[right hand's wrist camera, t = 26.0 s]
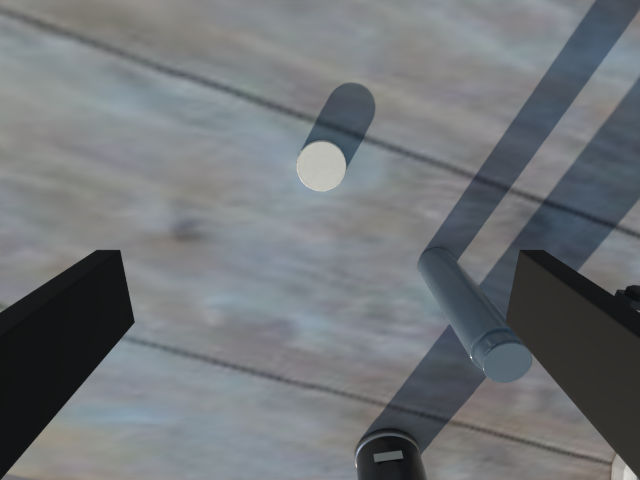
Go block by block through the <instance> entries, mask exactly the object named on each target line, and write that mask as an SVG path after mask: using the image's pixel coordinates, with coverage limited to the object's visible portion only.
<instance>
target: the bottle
mask: <svg viewBox="0 0 640 480" xmlns="http://www.w3.org/2000/svg"><path fill="white" fill-rule="evenodd" d="M418 270H419V273H420V274H421V276H422V278H423V279H424V281H425V283H426V284H427V286H428V288H429V289H430V291H431V293H432V295H433V296H434V298H435V300H436V301H437V303H438V305H439V306H440V308H441V310H442V311H443V313H444V315H445V316H446V318H447V320H448V321H449V323H450V325H451V327H452V328H453V330H454V332H455V333H456V335H457V337H458V338H459V340H460V342H461V343H462V345H463V347H464V348H465V350H466V352H467V354H468V355H469V357H470V359H471V360H472V362H473V363H474V365H476V366H477V367H478V368H480V369H482V370H483V372H484V373H485V375H486V376H487V377H488V378H489V379H491V380H493V381H495V382H499V383H507V382H512V381H515V380H517V379H519V378H521V377H522V376H524V375H525V374H526V373H527V371H528V370H529V368H530V367H531V364H532V355H531V353H530V351H529V350H528V348H527V347H526V346H525V345H524V344H523V343H522V341H521V340H520V339H519V338H518V337H517V335H516V334H515V333H514V332H513V331H512V330H511V328H510V327H509V326H508V325H507V324H506V323H505V321H506V316H505V315H504V314H503V313H502V312H501V310H500V309H499V308H498V307H497V306H496V305H495V304H494V302H493V301H492V300H491V299H490V298H489V297H488V296H487V294H486V293H485V292H484V291H483V290H482V289H481V288H480V287H479V285H478V284H477V283H476V282H475V281H474V280H473V279H472V277H471V276H470V275H469V274H468V273H467V272H466V271H465V269H464V268H463V267H462V266H461V265H460V264H459V263H458V261H457V260H456V259H455V258H454V257H453V256H452V255H451V253H450V252H449V251H447V250H446V249H443V248H432V249H429V250H427V251H426V252H424V253H423V254H422V255H421V257H420V258H419V261H418Z"/></svg>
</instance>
